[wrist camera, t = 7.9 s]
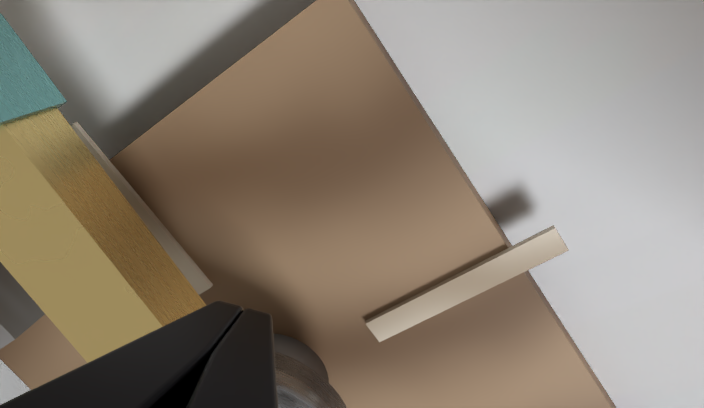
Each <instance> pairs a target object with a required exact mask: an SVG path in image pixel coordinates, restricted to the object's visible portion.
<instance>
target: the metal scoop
mask: <svg viewBox="0 0 704 408" xmlns="http://www.w3.org/2000/svg"><path fill="white" fill-rule="evenodd" d="M66 102H67V101H66V99H65V98H64V97H63V95H62V94H61V93H60V91H59V90H58V89H57V87H56V86H55V85H54V83H53V82H52V81H51V79H50V78H49V77H48V75H47V74H46V73H45V71H44V70H43V69H42V67H41V66H40V65H39V63H38V62H37V61H36V59H35V58H34V57H33V55H32V54H31V53H30V51H29V50H28V49H27V47H26V46H25V45H24V43H23V42H22V41H21V39H20V38H19V37H18V35H17V34H16V33H15V31H14V30H13V29H12V27H11V26H10V25H9V23H8V22H7V21H6V19H5V18H4V17H3V15H2V14H1V13H0V262H1V263H2V264H3V266H4V267H5V268H6V269H7V270H8V271H9V273H10V274H11V275H12V276H13V277H14V278H15V279H16V281H17V282H18V283H19V284H20V285H21V286H22V288H23V289H24V290H25V291H26V292H27V293H28V295H29V296H30V297H31V298H32V299H33V300H34V301H35V303H36V304H37V305H38V306H39V307H40V308H41V310H42V311H43V312H44V313H45V314H46V315H47V317H48V318H49V319H50V320H51V321H52V322H53V324H54V325H55V326H56V327H57V328H58V329H59V330H60V332H61V333H62V334H63V335H64V336H65V337H66V339H67V340H68V341H69V342H70V343H71V344H72V346H73V347H74V348H75V349H76V350H77V351H78V352H79V354H80V355H81V356H82V357H83V358H84V359H85V361H86V362H87V363H88V362H90V361H93V360H95V359H97V358H99V357H101V356H103V355H105V354H107V353H109V352H111V351H113V350H115V349H117V348H119V347H121V346H124V345H126V344H128V343H130V342H132V341H134V340H136V339H138V338H140V337H142V336H144V335H146V334H148V333H150V332H152V331H155V330H157V329H159V328H161V327H163V326H165V325H167V324H169V323H171V322H173V321H175V320H177V319H179V318H181V317H183V316H186V315H188V314H190V313H192V312H194V311H196V310H198V309H200V308H202V307H204V306H206V304H205V303H204V301H203V300H202V299H201V297H200V296H199V295H198V293H197V292H196V291H195V289H194V288H193V287H192V285H191V284H190V283H189V281H188V280H187V279H186V278H185V276H184V275H183V274H182V272H181V271H180V270H179V268H178V267H177V266H176V264H175V263H174V262H173V260H172V259H171V258H170V256H169V255H168V254H167V252H166V251H165V250H164V249H163V247H162V246H161V245H160V243H159V242H158V241H157V239H156V238H155V237H154V235H153V234H152V233H151V231H150V230H149V229H148V227H147V226H146V225H145V223H144V222H143V221H142V219H141V218H140V217H139V216H138V214H137V213H136V212H135V210H134V209H133V208H132V206H131V205H130V204H129V202H128V201H127V200H126V198H125V197H124V196H123V194H122V193H121V192H120V190H119V189H118V188H117V187H116V185H115V184H114V183H113V181H112V180H111V179H110V177H109V176H108V175H107V173H106V172H105V171H104V169H103V168H102V167H101V165H100V164H99V163H98V161H97V160H96V159H95V157H94V156H93V155H92V154H91V152H90V151H89V150H88V148H87V147H86V146H85V144H84V143H83V142H82V140H81V139H80V138H79V136H78V135H77V134H76V132H75V131H74V130H73V128H72V127H71V126H70V125H69V123H68V122H67V121H66V119H65V118H64V117H63V115H62V114H61V113H60V111H59V110H58V109H57V108H59V107H60V106H62V105H63V104H64V103H66ZM275 366H276V381H277V396H278V408H347V407H346V405H345V403H344V402H343V400H342V399H341V397H340V395H339V394H338V393H337V392H336V390H335V389H334V388H333V387H332V386H331V385H330V384H329V383H328V382H327V381H326V380H325V379H324V378H323V377H322V376H321V375H319V374H318V373H317V372H315V371H314V370H313V369H311V368H310V367H308V366H306V365H305V364H303V363H301V362H300V361H297V360H295V359H293V358H291V357H289V356H287V355H284V354H281V353H278V352H275Z"/></svg>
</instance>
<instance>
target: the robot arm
mask: <svg viewBox="0 0 704 408" xmlns="http://www.w3.org/2000/svg"><path fill="white" fill-rule="evenodd" d="M0 408H278V396H277V381H276V366H275V351H274V336H273V321H272V316H271V315H270V314H269V313H266V312H262V311H258V310H255V309H251V308H247V309H245V310H244V309H243V307H242V306H239V305H236V304H232V303H228V302H225V301H220V300H219V301H215V302H212V303H210V304H208V305H206V306H204V307H202V308H200V309H198V310H196V311H194V312H192V313H190V314H188V315H186V316H183V317H181V318H179V319H177V320H175V321H173V322H171V323H169V324H167V325H165V326H163V327H161V328H159V329H157V330H155V331H152V332H150V333H148V334H146V335H144V336H142V337H140V338H138V339H136V340H134V341H132V342H130V343H128V344H126V345H124V346H121V347H119V348H117V349H115V350H113V351H111V352H109V353H107V354H105V355H103V356H101V357H99V358H97V359H95V360H93V361H90V362H88V363H86V364H84V365H82V366H80V367H78V368H76V369H74V370H72V371H70V372H68V373H66V374H64V375H61V376H59V377H57V378H55V379H53V380H51V381H49V382H47V383H45V384H43V385H41V386H39V387H37V388H35V389H33V390H30V391H28V392H26V393H24V394H22V395H20V396H18V397H16V398H14V399H12V400H10V401H8V402H6V403H4V404H2V405H0Z"/></svg>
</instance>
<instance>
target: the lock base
mask: <svg viewBox="0 0 704 408" xmlns="http://www.w3.org/2000/svg"><path fill="white" fill-rule="evenodd" d="M71 127H72V128H73V130H74V131H75V132H76V134H77V135H78V136H79V138H80V139H81V140H82V142H83V143H84V144H85V146H86V147H87V148H88V150H89V151H90V152H91V154H92V155H93V156H94V157H95V159H96V160H97V161H98V163H99V164H100V165H101V167H102V168H103V169H104V171H105V172H106V173H107V175H108V176H109V177H110V179H111V180H112V181H113V183H114V184H115V185H116V187H117V188H118V189H119V190H120V192H121V193H122V194H123V196H124V197H125V198H126V200H127V201H128V202H129V204H130V205H131V206H132V208H133V209H134V210H135V212H136V213H137V214H138V216H139V217H140V218H141V219H142V221H143V222H144V223H145V225H146V226H147V227H148V229H149V230H150V231H151V233H152V234H153V235H154V237H155V238H156V239H157V241H158V242H159V243H160V245H161V246H162V247H163V249H164V250H165V251H166V252H167V254H168V255H169V256H170V258H171V259H172V260H173V262H174V263H175V264H176V266H177V267H178V268H179V270H180V271H181V272H182V274H183V275H184V276H185V278H186V279H187V280H188V281H189V283H190V284H191V285H192V287H193V288H194V289H195V291H196V292H197V293H198V295H199V296H200V297H201V299H202V300H203V301H204V303H205V304H206V305H208V304H210V303H212V302H215V301H219V300H220V301H225V302H228V303H232V304H236V305H239V306H242V307H243V309H244V310H245V309H247V308H251V309H255V310H258V311H262V312H266V313H269V314H270V315H271V316H272V321H273V336H274V351H275V352H278V353H281V354H284V355H287V356H289V357H291V358H293V359H295V360H297V361H300V362H301V363H303V364H305V365H306V366H308V367H310V368H311V369H313V370H314V371H315V372H317V373H318V374H319V375H321V376H322V377H323V378H324V379H325V380H326V381H327V382H328V383H329V384H330V385H331V386H332V387H333V388H334V389H335V390H336V392H337V393H338V394H339V395H340V397H341V399H342V400H343V402H344V403H345V405H346V407H347V408H616V406H615V405H614V403H613V402H612V400H611V399H610V397H609V396H608V394H607V392H606V391H605V389H604V388H603V386H602V385H601V383H600V382H599V380H598V378H597V377H596V375H595V374H594V372H593V371H592V369H591V368H590V366H589V365H588V363H587V361H586V360H585V358H584V357H583V355H582V354H581V352H580V351H579V349H578V347H577V346H576V344H575V343H574V341H573V340H572V338H571V337H570V335H569V333H568V332H567V330H566V329H565V327H564V326H563V324H562V323H561V321H560V319H559V318H558V316H557V315H556V313H555V312H554V310H553V309H552V307H551V305H550V304H549V302H548V301H547V299H546V298H545V296H544V295H543V293H542V292H541V290H540V288H539V287H538V285H537V284H536V282H535V281H534V279H533V278H532V276H531V274H530V273H529V271H528V270H529V269H531V268H533V267H535V266H537V265H540V264H542V263H544V262H546V261H548V260H550V259H552V258H554V257H556V256H558V255H560V254H562V253H564V252H566V251H568V248H567V246H566V245H565V243H564V241H563V240H562V238H561V236H560V235H559V233H558V232H557V230H556V228H555V227H554V225H553V226H551V227H549V228H547V229H545V230H543V231H541V232H539V233H537V234H535V235H533V236H531V237H529V238H527V239H525V240H523V241H521V242H519V243H517V244H515V245H513V246H512V245H511V243H510V242H509V240H508V239H507V237H506V236H505V234H504V233H503V231H502V229H501V228H500V226H499V225H498V223H497V222H496V220H495V219H494V217H493V215H492V214H491V212H490V211H489V209H488V208H487V206H486V205H485V203H484V201H483V200H482V198H481V197H480V195H479V194H478V192H477V191H476V189H475V187H474V186H473V184H472V183H471V181H470V180H469V178H468V177H467V175H466V173H465V172H464V170H463V169H462V167H461V166H460V164H459V163H458V161H457V160H456V158H455V156H454V155H453V153H452V152H451V150H450V149H449V147H448V146H447V144H446V142H445V141H444V139H443V138H442V136H441V135H440V133H439V132H438V130H437V128H436V127H435V125H434V124H433V122H432V121H431V119H430V118H429V116H428V114H427V113H426V111H425V110H424V108H423V107H422V105H421V104H420V102H419V101H418V99H417V97H416V96H415V94H414V93H413V91H412V90H411V88H410V87H409V85H408V83H407V82H406V80H405V79H404V77H403V76H402V74H401V73H400V71H399V69H398V68H397V66H396V65H395V63H394V62H393V60H392V59H391V57H390V55H389V54H388V52H387V51H386V49H385V48H384V46H383V45H382V43H381V41H380V40H379V38H378V37H377V35H376V34H375V32H374V31H373V29H372V28H371V26H370V24H369V23H368V21H367V20H366V18H365V17H364V15H363V14H362V12H361V10H360V9H359V7H358V6H357V4H356V3H355V1H354V0H316V1H315V2H313V3H312V4H311V5H310V6H308V7H307V8H306V9H304V10H303V11H302V12H301V13H299V14H298V15H297V16H295V17H294V18H293V19H291V20H290V21H289V22H288V23H286V24H285V25H284V26H282V27H281V28H280V29H278V30H277V31H276V32H275V33H273V34H272V35H271V36H269V37H268V38H267V39H266V40H264V41H263V42H262V43H260V44H259V45H258V46H256V47H255V48H254V49H253V50H251V51H250V52H249V53H247V54H246V55H245V56H244V57H242V58H241V59H240V60H238V61H237V62H236V63H234V64H233V65H232V66H231V67H229V68H228V69H227V70H225V71H224V72H223V73H222V74H220V75H219V76H218V77H216V78H215V79H214V80H212V81H211V82H210V83H209V84H207V85H206V86H205V87H203V88H202V89H201V90H199V91H198V92H197V93H196V94H194V95H193V96H192V97H190V98H189V99H188V100H187V101H185V102H184V103H183V104H181V105H180V106H179V107H177V108H176V109H175V110H174V111H172V112H171V113H170V114H168V115H167V116H166V117H165V118H163V119H162V120H161V121H159V122H158V123H157V124H155V125H154V126H153V127H152V128H150V129H149V130H148V131H146V132H145V133H144V134H142V135H141V136H140V137H139V138H137V139H136V140H135V141H133V142H132V143H131V144H130V145H128V146H127V147H126V148H124V149H123V150H122V151H120V152H119V153H118V154H117V155H115V156H114V157H113V158H111V159H110V160H109V159H108V158H107V157H106V156H105V154H104V153H103V152H102V151H101V150H100V148H99V147H98V146H97V145H96V144H95V142H94V141H93V140H92V139H91V138H90V136H89V135H88V134H87V133H86V132H85V130H84V129H83V128H82V127H81V126H80V124H79V123H78V122H76V123H73V124H72V125H71ZM0 359H1V360H2V361H3V362H4V363H5V364H6V365H7V366H8V367H9V368H10V369H11V370H12V371H13V372H14V373H15V374H16V375H17V376H18V377H19V378H20V379H21V380H22V381H23V382H24V383H25V384H26V385H27V386H28V387H29V388H30V389H31V390H33V389H35V388H37V387H39V386H41V385H43V384H45V383H47V382H49V381H51V380H53V379H55V378H57V377H59V376H61V375H64V374H66V373H68V372H70V371H72V370H74V369H76V368H78V367H80V366H82V365H84V364H86V363H87V362H86V361H85V359H84V358H83V357H82V356H81V355H80V354H79V352H78V351H77V350H76V349H75V348H74V347H73V346H72V344H71V343H70V342H69V341H68V340H67V339H66V337H65V336H64V335H63V334H62V333H61V332H60V330H59V329H58V328H57V327H56V326H55V325H54V324H53V322H52V321H51V320H50V319H49V318H48V317H47V315H46V314H45V313H44V312H43V311H42V310H41V308H40V307H39V306H38V305H37V304H36V303H35V301H34V300H33V299H32V298H31V297H30V296H29V295H28V293H27V292H26V291H25V290H24V289H23V288H22V286H21V285H20V284H19V283H18V282H17V281H16V279H15V278H14V277H13V276H12V275H11V274H10V273H9V271H8V270H7V269H6V268H5V267H4V266H3V264H2V263H1V262H0Z"/></svg>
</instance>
